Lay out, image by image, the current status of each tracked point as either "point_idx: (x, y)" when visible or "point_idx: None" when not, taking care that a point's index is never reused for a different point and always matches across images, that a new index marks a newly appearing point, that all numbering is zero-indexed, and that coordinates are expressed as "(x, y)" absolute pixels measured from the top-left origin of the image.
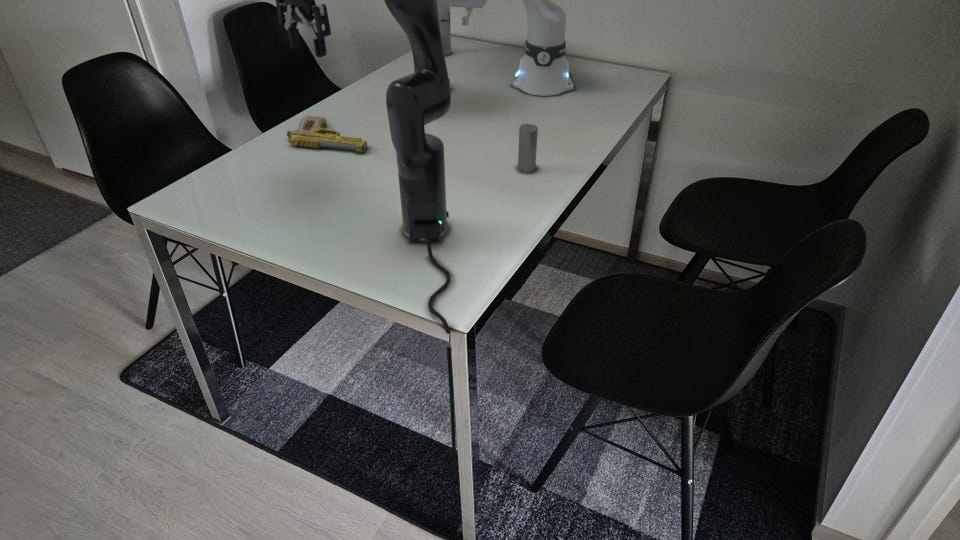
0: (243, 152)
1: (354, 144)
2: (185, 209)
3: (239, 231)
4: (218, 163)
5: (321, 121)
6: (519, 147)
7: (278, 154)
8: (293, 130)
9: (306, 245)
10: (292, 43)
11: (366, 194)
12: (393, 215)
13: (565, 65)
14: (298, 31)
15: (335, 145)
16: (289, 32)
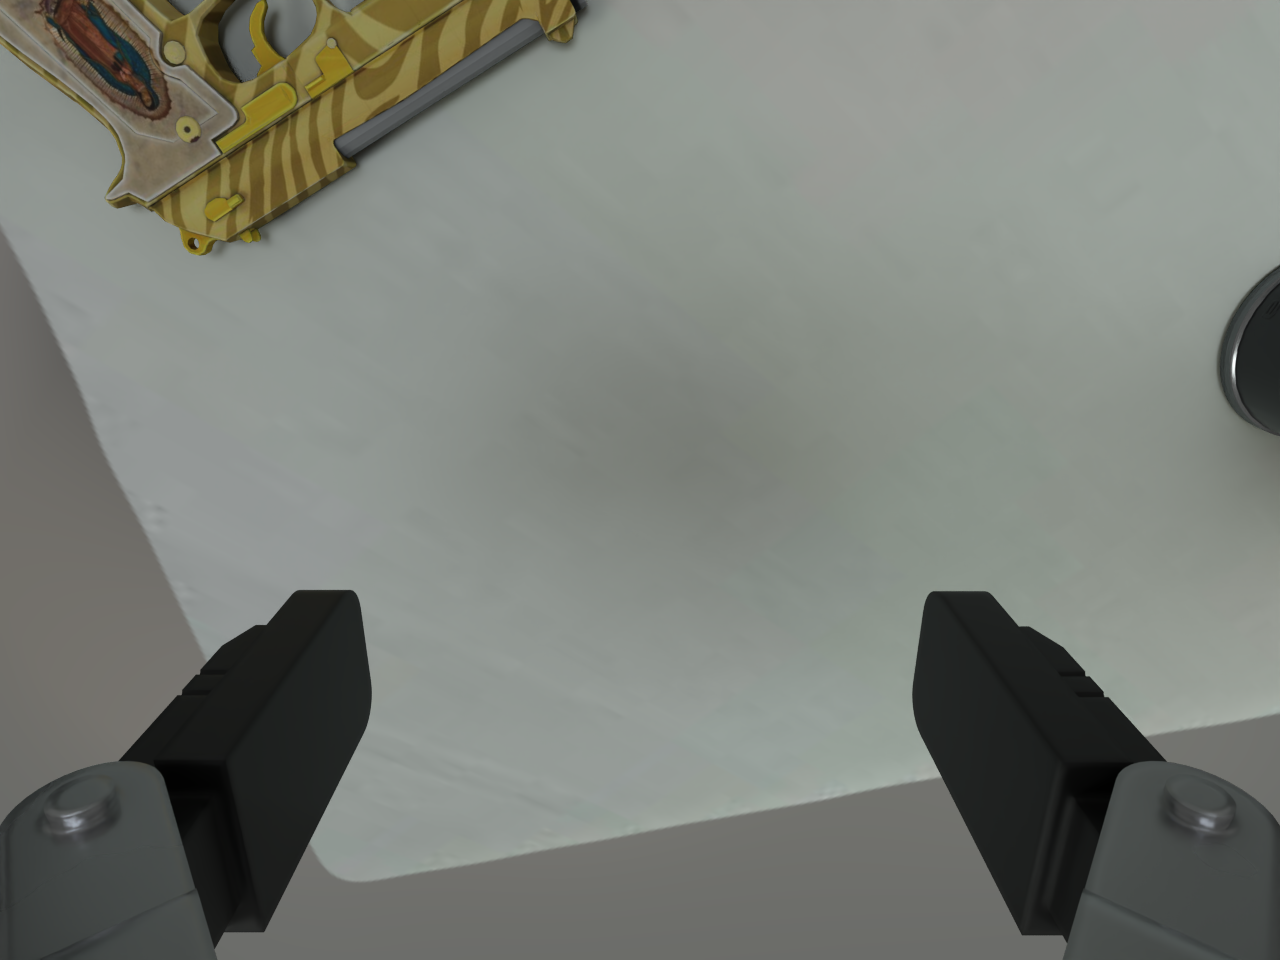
0: (130, 440)
1: (517, 21)
2: (439, 801)
3: (707, 763)
4: (167, 567)
5: None
6: None
7: (262, 341)
8: (125, 176)
9: None
10: (344, 754)
11: (906, 311)
12: (1124, 352)
13: None
14: (252, 732)
15: (431, 101)
16: (256, 907)
